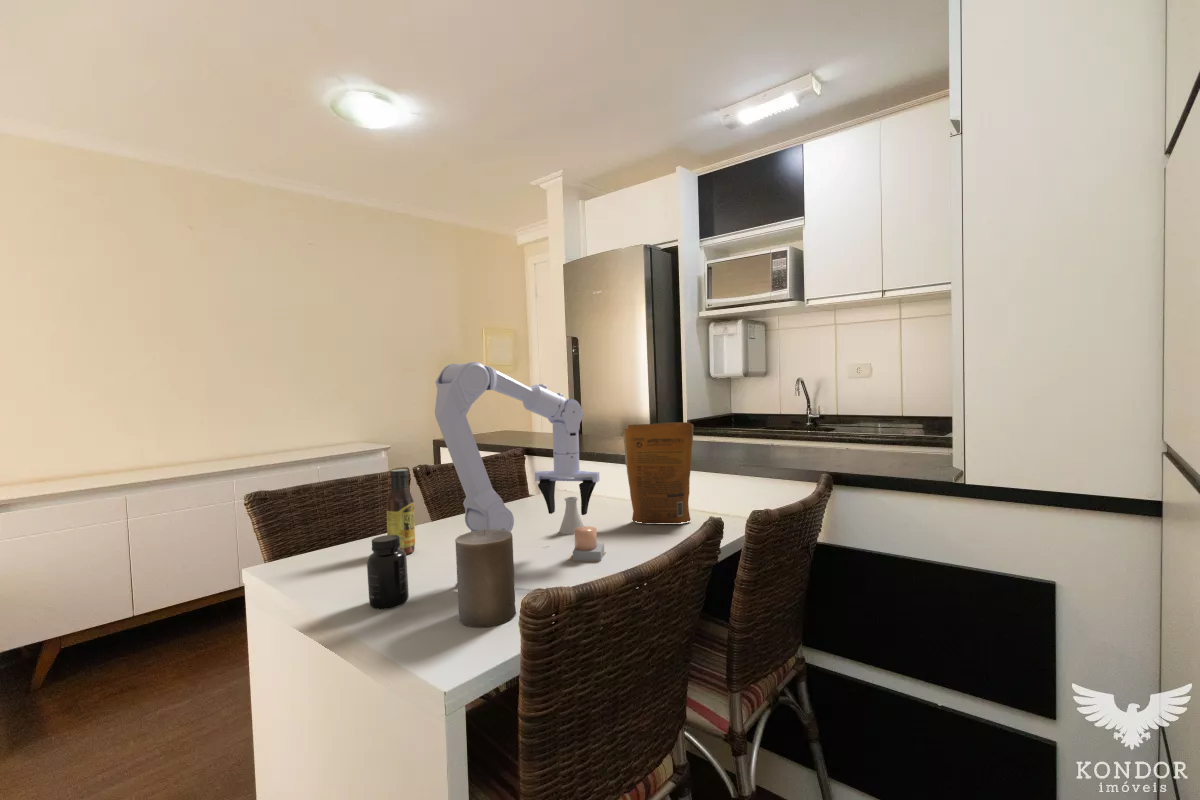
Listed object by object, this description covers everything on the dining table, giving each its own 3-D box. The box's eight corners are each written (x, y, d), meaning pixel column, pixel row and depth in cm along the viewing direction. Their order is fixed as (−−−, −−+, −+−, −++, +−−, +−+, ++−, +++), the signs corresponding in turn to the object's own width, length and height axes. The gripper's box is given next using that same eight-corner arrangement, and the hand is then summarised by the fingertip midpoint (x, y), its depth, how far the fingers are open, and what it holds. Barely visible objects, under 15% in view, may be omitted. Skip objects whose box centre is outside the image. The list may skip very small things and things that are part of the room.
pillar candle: (527, 613, 95) (524, 526, 95) (480, 633, 88) (476, 539, 88) (492, 600, 102) (489, 519, 101) (446, 618, 94) (442, 530, 94)
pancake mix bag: (695, 527, 148) (693, 422, 147) (625, 525, 152) (622, 423, 151) (696, 520, 155) (693, 420, 154) (628, 519, 159) (625, 421, 158)
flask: (574, 541, 138) (573, 501, 138) (552, 537, 142) (551, 499, 142) (592, 534, 144) (590, 496, 143) (570, 531, 148) (569, 494, 148)
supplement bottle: (396, 592, 107) (393, 531, 106) (416, 600, 102) (413, 536, 102) (361, 604, 101) (358, 539, 101) (381, 613, 97) (378, 545, 97)
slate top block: (600, 560, 118) (600, 551, 118) (573, 560, 119) (572, 551, 119) (604, 552, 124) (603, 543, 124) (577, 552, 125) (577, 543, 125)
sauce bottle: (410, 556, 129) (406, 471, 129) (383, 557, 130) (380, 472, 129) (419, 548, 136) (416, 467, 135) (394, 548, 136) (391, 468, 136)
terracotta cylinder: (584, 552, 118) (584, 533, 118) (570, 547, 122) (569, 529, 121) (601, 547, 121) (600, 528, 121) (586, 542, 125) (586, 525, 125)
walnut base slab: (598, 571, 117) (598, 562, 117) (567, 569, 119) (566, 560, 119) (606, 561, 124) (606, 552, 124) (576, 559, 126) (576, 551, 126)
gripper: (602, 450, 125) (603, 510, 126) (542, 450, 129) (543, 508, 129) (593, 454, 118) (595, 517, 119) (530, 454, 122) (532, 515, 123)
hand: (567, 513), depth 124 cm, fingers open, 7 cm apart
